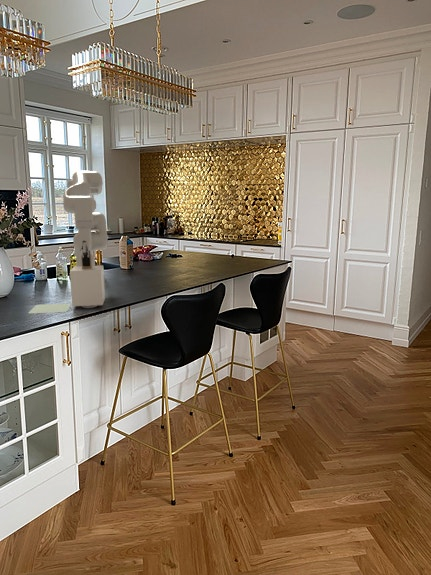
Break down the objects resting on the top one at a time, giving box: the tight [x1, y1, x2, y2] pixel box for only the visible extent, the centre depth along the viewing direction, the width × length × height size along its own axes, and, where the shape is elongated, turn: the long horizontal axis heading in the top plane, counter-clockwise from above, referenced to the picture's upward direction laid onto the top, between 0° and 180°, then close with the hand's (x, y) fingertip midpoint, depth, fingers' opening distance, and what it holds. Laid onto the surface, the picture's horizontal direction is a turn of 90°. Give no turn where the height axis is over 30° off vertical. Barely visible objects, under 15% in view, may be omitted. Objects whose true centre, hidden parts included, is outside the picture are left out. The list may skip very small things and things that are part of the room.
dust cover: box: [69, 253, 106, 307], centre depth 201 cm, size 13×13×22 cm
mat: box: [28, 302, 72, 315], centre depth 200 cm, size 16×16×1 cm
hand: (87, 265), depth 200 cm, fingers closed on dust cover, 4 cm apart
